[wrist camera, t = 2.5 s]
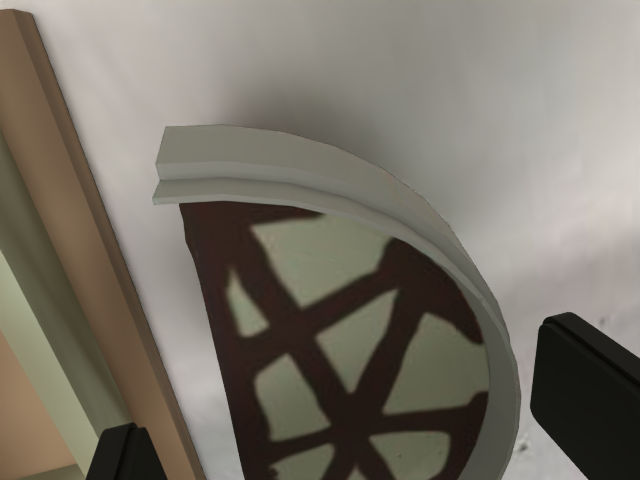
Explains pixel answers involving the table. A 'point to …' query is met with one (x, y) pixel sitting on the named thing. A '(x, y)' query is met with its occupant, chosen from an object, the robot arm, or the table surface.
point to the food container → (340, 313)
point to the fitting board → (66, 293)
